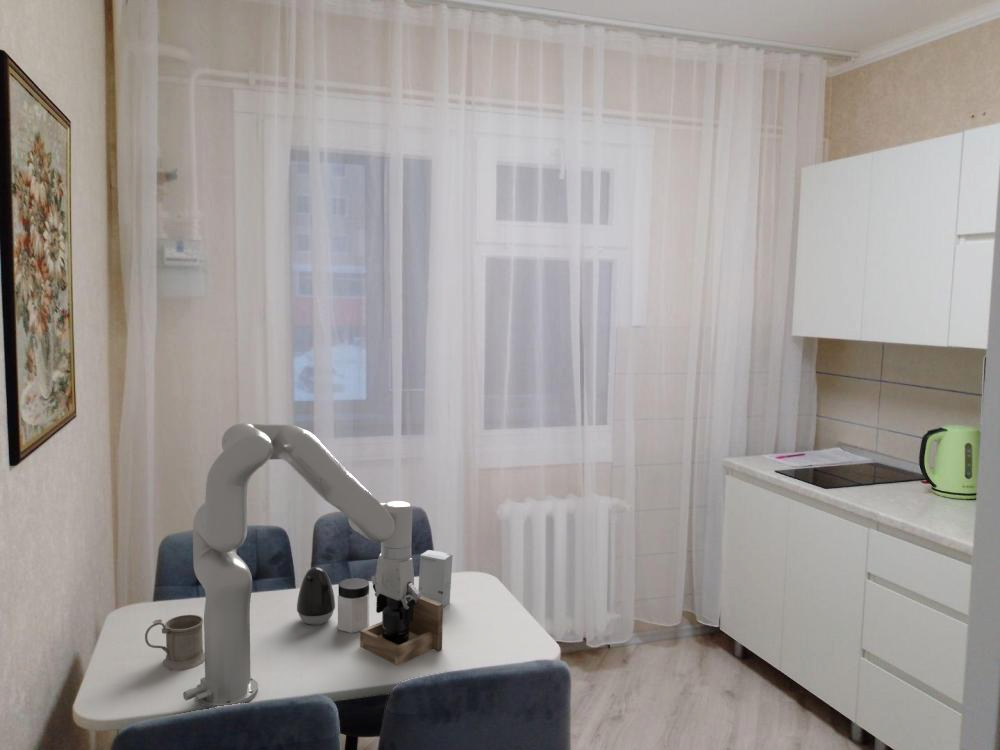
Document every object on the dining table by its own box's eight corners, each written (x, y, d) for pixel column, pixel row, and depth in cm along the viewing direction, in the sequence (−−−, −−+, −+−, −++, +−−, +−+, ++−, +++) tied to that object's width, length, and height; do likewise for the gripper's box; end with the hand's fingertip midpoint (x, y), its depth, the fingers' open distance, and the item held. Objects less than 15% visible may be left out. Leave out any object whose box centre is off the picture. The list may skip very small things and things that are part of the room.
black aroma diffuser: (289, 626, 201) (289, 572, 199) (308, 611, 211) (308, 559, 210) (324, 631, 199) (324, 576, 197) (341, 615, 209) (341, 563, 207)
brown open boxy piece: (403, 668, 180) (403, 620, 179) (355, 644, 191) (355, 599, 190) (442, 649, 190) (442, 604, 189) (394, 628, 202) (394, 585, 200)
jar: (343, 635, 196) (343, 591, 195) (332, 624, 203) (332, 581, 202) (375, 628, 201) (375, 585, 200) (363, 617, 208) (363, 575, 207)
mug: (193, 646, 188) (192, 601, 187) (214, 659, 182) (213, 612, 181) (136, 667, 177) (134, 619, 176) (155, 681, 171) (154, 631, 170)
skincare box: (417, 604, 218) (417, 555, 216) (426, 596, 223) (427, 548, 222) (443, 609, 215) (444, 559, 213) (452, 601, 220) (452, 552, 219)
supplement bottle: (376, 643, 188) (376, 597, 187) (392, 632, 194) (393, 588, 193) (398, 649, 185) (399, 603, 184) (414, 639, 191) (415, 593, 190)
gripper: (362, 546, 190) (360, 611, 192) (408, 563, 179) (407, 631, 181) (384, 539, 196) (383, 603, 197) (431, 556, 185) (429, 622, 186)
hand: (394, 616), depth 189 cm, fingers open, 9 cm apart
